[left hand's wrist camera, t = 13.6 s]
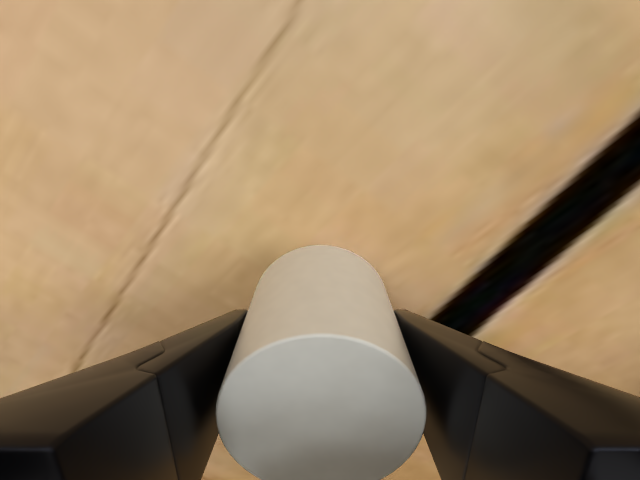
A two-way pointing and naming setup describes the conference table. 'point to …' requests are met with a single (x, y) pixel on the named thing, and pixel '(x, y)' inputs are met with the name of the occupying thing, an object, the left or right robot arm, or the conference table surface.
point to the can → (320, 374)
